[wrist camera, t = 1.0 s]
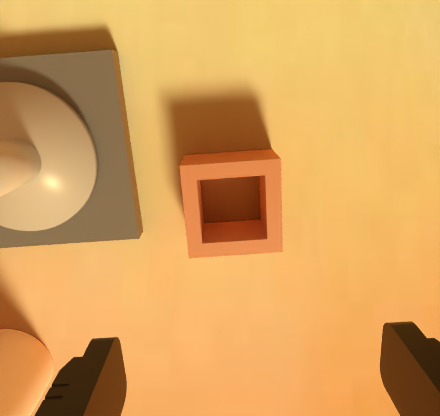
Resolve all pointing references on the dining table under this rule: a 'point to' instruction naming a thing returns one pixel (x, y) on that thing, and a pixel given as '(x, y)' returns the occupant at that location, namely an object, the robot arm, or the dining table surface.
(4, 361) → the cylindrical container
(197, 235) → the collar
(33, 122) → the post plate
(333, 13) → the dining table surface
